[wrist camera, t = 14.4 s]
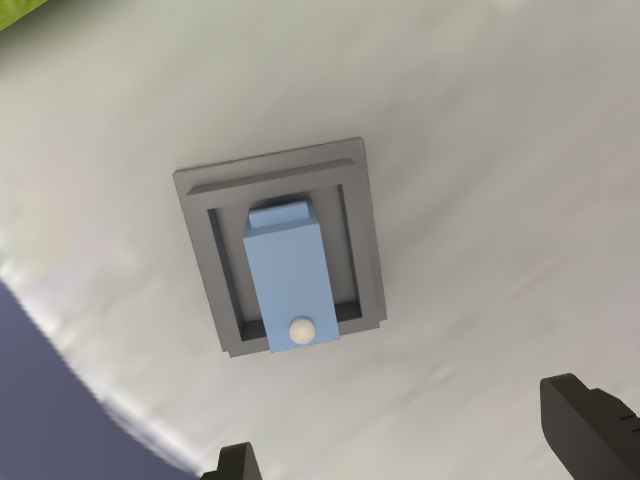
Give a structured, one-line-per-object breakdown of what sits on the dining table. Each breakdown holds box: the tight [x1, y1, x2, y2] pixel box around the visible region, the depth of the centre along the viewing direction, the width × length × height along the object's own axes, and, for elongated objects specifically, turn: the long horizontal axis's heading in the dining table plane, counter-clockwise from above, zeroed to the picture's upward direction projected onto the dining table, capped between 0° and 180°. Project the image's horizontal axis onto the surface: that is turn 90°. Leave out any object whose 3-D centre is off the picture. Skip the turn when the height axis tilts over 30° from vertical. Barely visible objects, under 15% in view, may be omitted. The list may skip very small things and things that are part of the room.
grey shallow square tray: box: [172, 137, 387, 358], centre depth 29 cm, size 12×13×4 cm
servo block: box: [243, 197, 340, 353], centre depth 27 cm, size 4×9×7 cm, turn 10°
